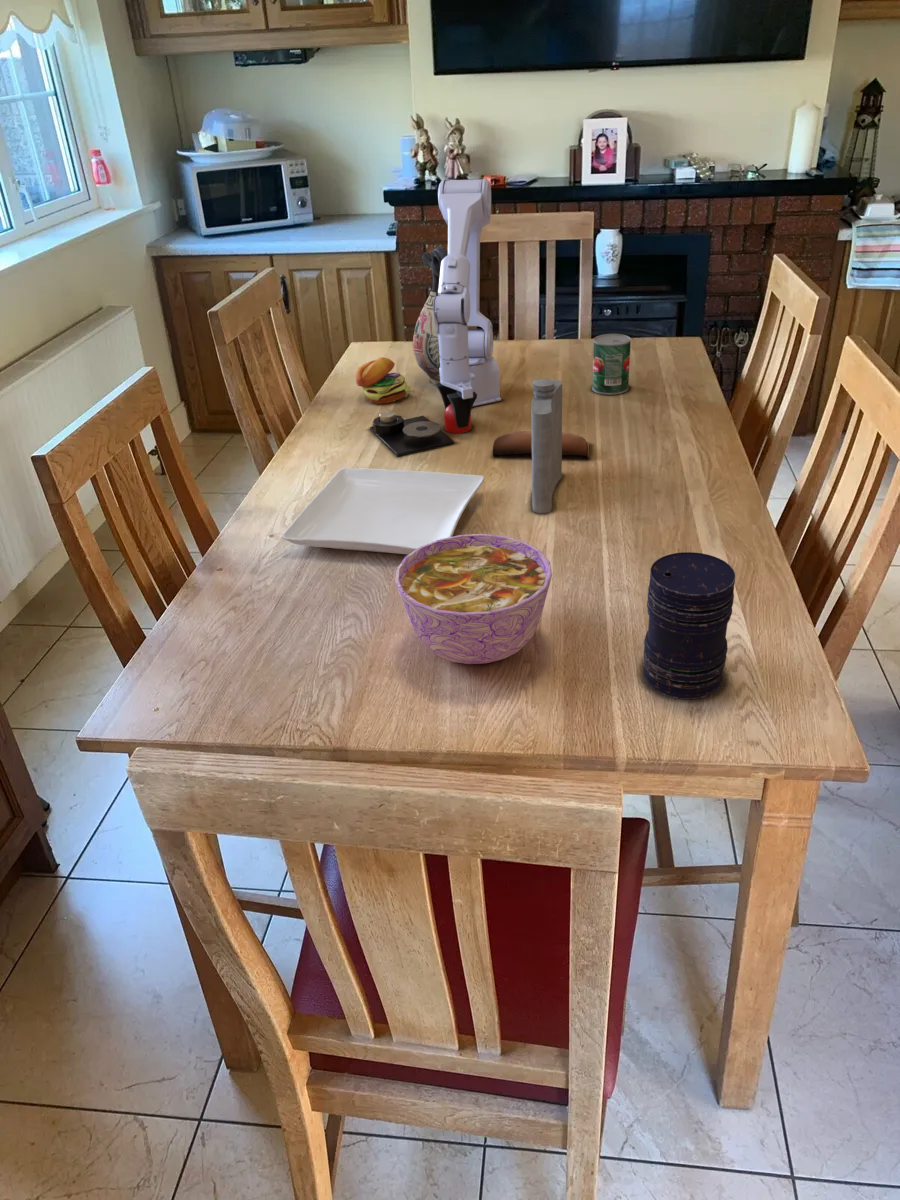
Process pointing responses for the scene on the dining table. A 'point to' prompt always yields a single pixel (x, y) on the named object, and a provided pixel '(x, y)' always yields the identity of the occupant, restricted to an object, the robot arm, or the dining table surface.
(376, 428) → the hob
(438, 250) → the ceramic jug
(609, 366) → the canned tomato
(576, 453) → the sunglasses case
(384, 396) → the cheeseburger
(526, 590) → the bowl of food
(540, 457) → the hip flask
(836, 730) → the dining table surface
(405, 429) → the burner
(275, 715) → the dining table surface
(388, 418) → the hob button
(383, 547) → the square plate
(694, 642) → the storage jar
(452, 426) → the pepper
